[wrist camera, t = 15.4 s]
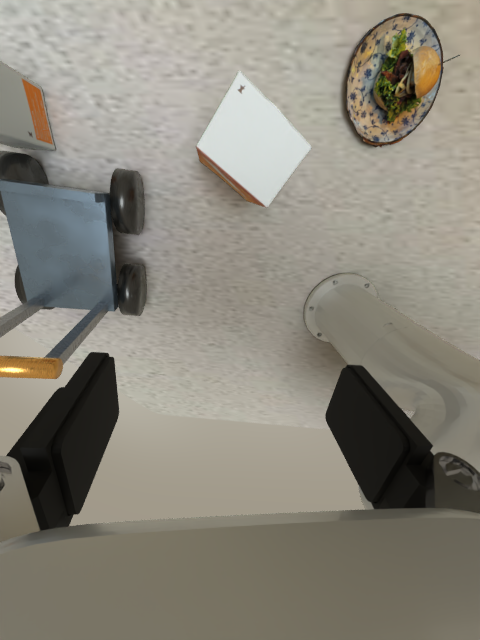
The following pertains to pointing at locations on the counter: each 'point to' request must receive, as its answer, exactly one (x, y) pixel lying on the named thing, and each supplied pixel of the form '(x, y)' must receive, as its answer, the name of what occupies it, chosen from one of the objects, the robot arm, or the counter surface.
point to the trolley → (67, 254)
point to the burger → (394, 78)
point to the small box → (251, 143)
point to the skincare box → (22, 112)
